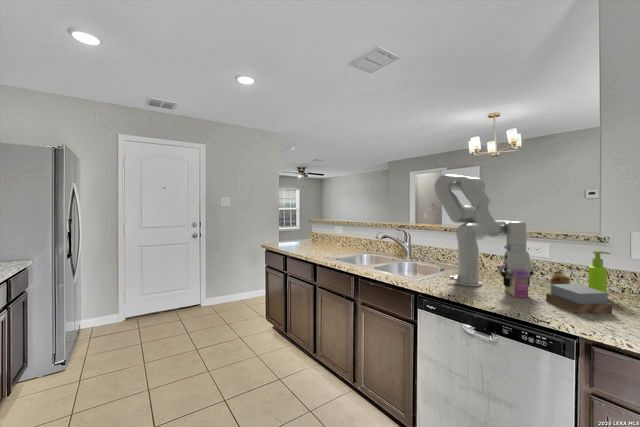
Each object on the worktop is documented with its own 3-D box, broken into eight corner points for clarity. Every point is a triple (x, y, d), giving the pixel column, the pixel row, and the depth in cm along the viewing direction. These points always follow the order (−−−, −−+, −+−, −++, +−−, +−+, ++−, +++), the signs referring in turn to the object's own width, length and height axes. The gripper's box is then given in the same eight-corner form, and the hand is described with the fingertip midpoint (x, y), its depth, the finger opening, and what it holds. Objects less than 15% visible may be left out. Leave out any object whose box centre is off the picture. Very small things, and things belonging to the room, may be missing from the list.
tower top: (578, 304, 110) (578, 293, 110) (551, 293, 123) (551, 284, 123) (607, 303, 111) (607, 293, 111) (576, 293, 124) (576, 283, 124)
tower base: (577, 315, 110) (577, 305, 110) (546, 302, 125) (546, 293, 125) (612, 314, 110) (612, 304, 110) (576, 301, 125) (576, 292, 125)
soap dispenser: (612, 300, 124) (612, 253, 124) (590, 297, 128) (590, 252, 128) (607, 296, 129) (608, 251, 129) (586, 294, 133) (587, 250, 133)
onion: (545, 286, 147) (546, 270, 146) (555, 284, 150) (555, 268, 149) (563, 290, 140) (563, 273, 139) (573, 288, 143) (573, 271, 143)
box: (528, 297, 129) (528, 271, 129) (514, 297, 130) (514, 270, 130) (517, 291, 139) (517, 266, 139) (504, 290, 141) (504, 266, 140)
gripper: (502, 249, 130) (503, 288, 131) (541, 249, 131) (541, 287, 131) (492, 247, 138) (492, 284, 138) (528, 246, 138) (529, 283, 139)
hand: (516, 285), depth 135 cm, fingers open, 8 cm apart
